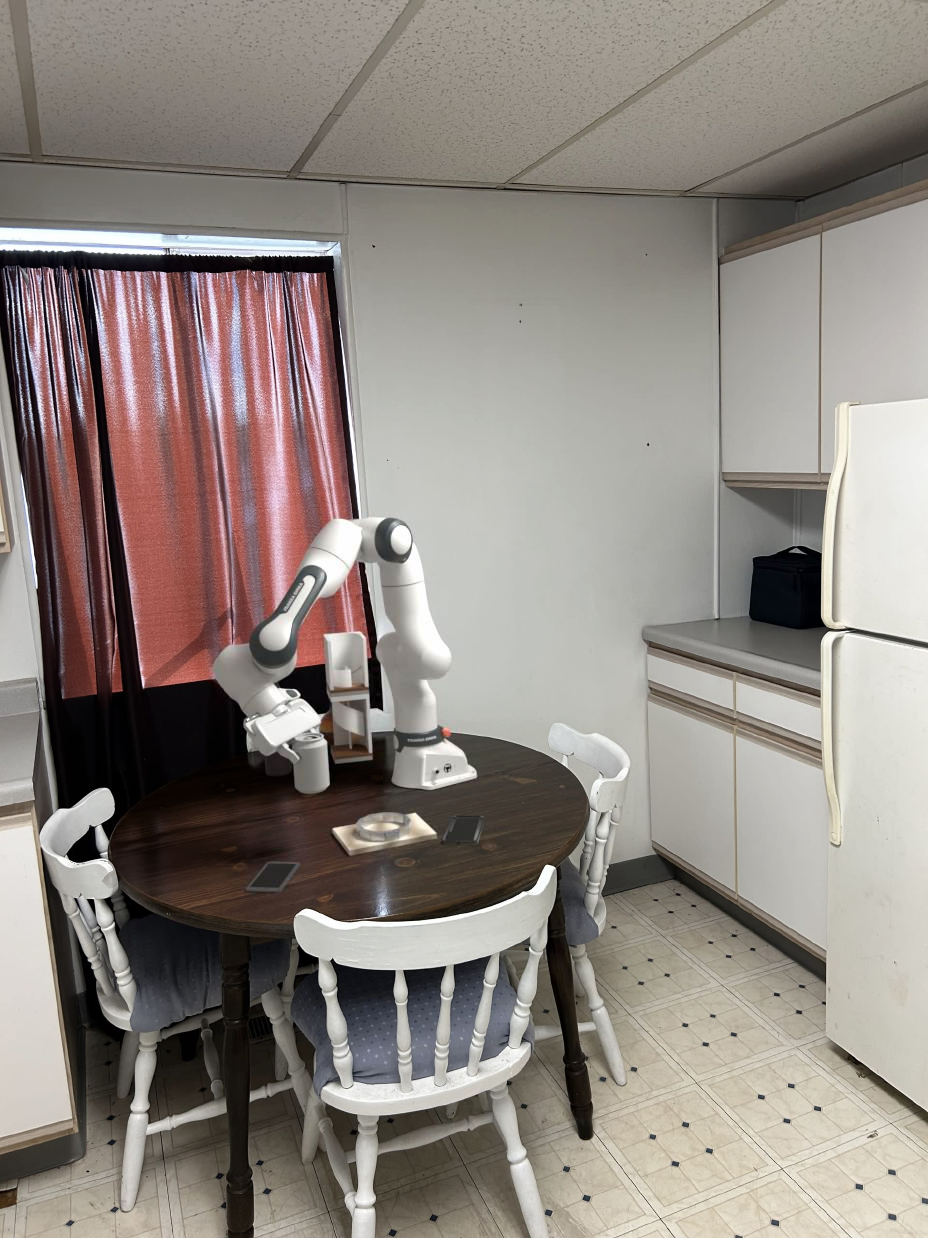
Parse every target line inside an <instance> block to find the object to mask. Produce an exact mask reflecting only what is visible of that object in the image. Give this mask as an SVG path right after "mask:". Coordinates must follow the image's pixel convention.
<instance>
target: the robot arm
mask: <svg viewBox="0 0 928 1238" xmlns="http://www.w3.org/2000/svg"><path fill="white" fill-rule="evenodd" d="M413 538H414V537H413V533H412V531H411V529H410V526H409V525H408V524H407V523H406V521H403V520H402V519H400V518H395V517H380V516H379V517H378V516H368V517H366V518H365V517H364V518H363V517H362V518H351V519H344V518H333V519H331V520H329V521H328V522H326V524H325V525H324V526H323V528H322V529H321V530H320V531H319V532H318V533H317V535H316V536H315V537H314V539H313V540H312V542H311V543H310V545H309V547H308V548H307V550H306V552H305V553H304V555H303V557H302V559H301V562H300V564H299V566H298V568H297V571H296V575H295V577H294V580H293V582H292V584H291V585H290V587H289V588H288V590H287V591H286V593H285V595H284V596H283V598H282V600H281V601H280V602H279V604H278V606H276V609H275V610H274V611H273V612H272V613H271V614H270V616H268V617H266V618H265V619H264V620H263V621H261V622H260V623H258V624H257V625H256V626H255V627H254V629H253V630H252V632H251V634H250V637H249V639H248V640H249V641H248V642H247V643H243V644H241V643H240V644H229V645H227V646H226V647H224V648H223V649H221V651H220V652H219V653H218V654H217V655H216V657H215V658H214V661H213V663H212V666H211V669H212V670H211V671H212V674H213V677H214V678H215V680H216V681H217V683H218V684H219V686H220V687H221V688H222V689H223V690H224V692H225V693H226V694H227V695H228V696H229V698H231V699H232V700H234V701H235V702H236V703H237V704H238V705H239V707H240V710H241V711H242V712H243V714H245V715H246V717H245V718H243V728H244V729H245V731H246V733H247V736H248V738H249V739H250V740H251V742H252V744H253V745H254V746H255V747H256V749H257V750H258V751H259V753H261V754H262V755H263V756H264V757H265V756H269V755H271V754H272V753H274V752H276V751H277V752H278V753H279V754H280V755H282V756H284V757H286V758H288V759H290V761H291V763H292V764H296V763H297V762H299V761H300V760H301V758H302V757H301V755H299V753H298V752H294V751H292V749H291V748H290V749H289V748H288V747H289V746H288V745H289V744H290V745H292V744H293V742H294V741H295V737H297V736H299V735H301V734H304V733H318V731H316V730H317V728H319V725H320V724H321V717H320V716H319V715H318V713H317V712H316V711H315V709H314V708H313V707H312V706H311V705H310V704H309V703H308V702H307V701H306V700H304V699H302V698H300V697H301V693H300V692H299V691H298V690H297V689H294V688H292V689H291V688H277V687H276V686H275V685H274V683H276V682H278V683H279V682H280V681H281V680H283V679H284V678H286V677H288V676H289V675H291V673H292V672H294V669H295V668H296V666H297V660H298V659H297V658H298V654H297V649H298V641H299V639H298V638H299V630H300V627H301V625H303V622H304V621H305V620H306V618H307V616H308V614H309V613H310V611H311V609H312V608H313V606H314V605H315V603H316V602H317V600H319V598H321V599H322V598H323V599H324V598H331V597H332V596H334V595H335V594H336V592H338V590H339V589H340V588H341V587H342V586H343V584H344V582H345V581H346V579H347V577H348V576H349V574H350V572H351V570H352V568H353V567H354V564H355V563H356V562H359V563H365V564H367V563H368V564H374V563H376V564H377V565H378V567H379V576H380V577H379V578H380V586H381V594H382V600H383V609H384V612H385V616H386V617H387V619H388V621H389V622H390V623H391V625H392V626H393V629H394V630H395V631H391V632H390V631H389V632H386V633H385V634H383V635H382V636H381V637H380V638H379V639H378V642H377V643H376V647H375V656H376V659H377V660H378V662H379V663H380V664H381V666H382V668H383V671H384V672H385V676H386V678H387V682H388V685H389V688H390V693H391V696H392V697H391V698H392V700H393V712H394V726H395V727H393V747H394V750H395V757H394V767H393V773H392V777H391V782H392V784H394V785H396V786H398V787H401V788H402V787H403V788H408V789H421V790H426V791H433V790H436V789H440V788H444V787H447V786H451V785H455V784H460V783H463V782H467V781H471V780H474V779H477V777H478V774H477V770H476V769H475V768H474V767H473V766H472V765H470V764H468V759H467V756H466V754H465V752H464V751H463V750H462V749H461V748H459V747H458V746H457V745H455V744H454V743H452V742H451V741H449V740H448V739H446V738H450V736H451V735H452V732H451V730H450V729H449V728H447V727H443V726H441V725H440V724H438V713H437V712H438V711H437V707H438V706H437V698H436V695H435V693H434V692H433V690H432V688H431V687H430V685H429V682H428V681H432V680H440V679H442V678H443V677H444V676H445V675H447V673H448V672H449V670H450V668H451V666H452V662H453V661H452V659H453V657H452V653H451V650H450V649H449V647H448V645H446V643H445V642H444V641H443V639H442V637H441V635H440V634H439V631H438V629H437V627H436V625H435V622H434V620H433V618H432V614H431V611H430V607H429V603H428V595H427V589H426V582H425V576H424V575H425V573H424V570H423V564H422V560H421V557H420V554H419V551H418V548H417V546H416V544H415V542H414V540H413Z"/></svg>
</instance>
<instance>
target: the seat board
mask: <svg viewBox="0 0 928 1238" xmlns="http://www.w3.org/2000/svg"><path fill="white" fill-rule="evenodd" d="M405 815H407V816H408V817H409V818H410V819H411V831H410V833H409V834H408V835H406V836H404V837H402V838H400V839H396V840H391V841H385V842H383V841H368V840H365V839H361V838H360V837H359V836H358V835H357V834H356V823H355V824H354V823H353V824H348V825H344V826H338V827H333V828H332V834H333V836H334V837H335V838H336V840H337V841H338V842H339V843H340V845H341V846H342V848H343V849H344V851H346V852H347V854H348V855H349V856H356V855H357V856H358V855H360V854H366V853H367V854H368V853H372V852H376V851H381V850H386V849H391V848H397V847H401V846H405V845H406V846H407V845H410V844H417V843H421V842H425V841H426V842H427V841H431V840H436V839H438V836H437V835H438V833H437V832H436V831H435V830H434V829H433V828H432V827H430V825H429V824H428V823H427V822H425V821H424V820H423V819H422V818H421V817H420V816H419V815H418V813H416V812H413V813H406V814H405ZM401 826H403V825H402V824H398V823H395V822H382V823H376V824H371V825H369V826H367V827H365V828H364V829H368V830H371V831H388V830H393V829H397V828H399V827H401Z"/></svg>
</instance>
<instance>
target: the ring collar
mask: <svg viewBox="0 0 928 1238" xmlns="http://www.w3.org/2000/svg"><path fill="white" fill-rule="evenodd" d="M382 822H395V823H398V824H402V825H403V826H401V827H399V828H397V829H393V830H388V831H371V830H368V829H364V828H365V827H367V826H369V825H371V824H376V823H382ZM355 824H356V834H357V835H358V836H359V837H360V838H361V839H365V840H368V841H383V842H385V841H391V840H396V839H400V838H402V837H404V836H406V835H408V834H409V833H410V831H411V819H410V818H409V817H408V816H407V815H406V814H403V813H400V812H399V813H398V812H392V811H391V812H390V811H389V812H383V811H382V812H378V813H377V812H376V813H371V814H367V815H365V816H363V817H361V818H358V820H357V822H356V823H355Z"/></svg>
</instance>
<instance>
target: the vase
mask: <svg viewBox="0 0 928 1238" xmlns="http://www.w3.org/2000/svg"><path fill="white" fill-rule="evenodd" d="M328 701H329V710H328V711H327V712H326V713H324V715H323V716H322V717H321V718H320V720H321V724H320V725H319V726H318V733H320V734H322V735H324V737H323V738H324V739H325V740H326V741H327V747H330V748H331V746H330V745H334V730H333V714H332V702H331V700H330V698H329V697H328Z"/></svg>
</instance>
